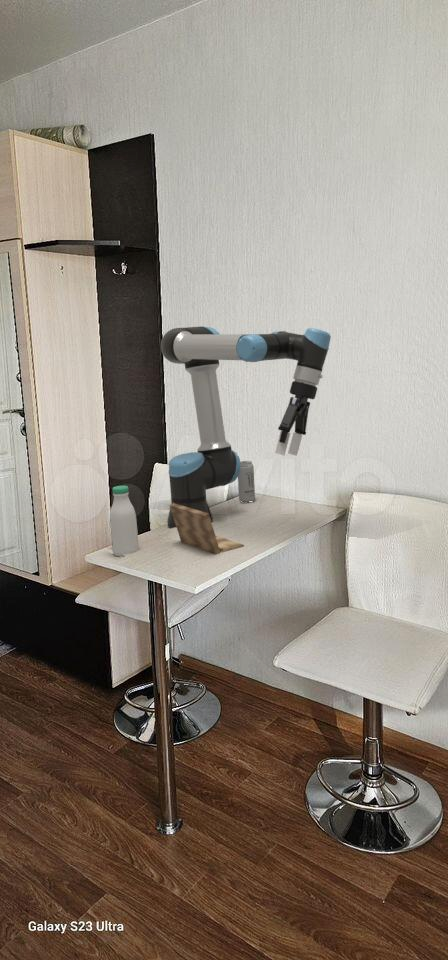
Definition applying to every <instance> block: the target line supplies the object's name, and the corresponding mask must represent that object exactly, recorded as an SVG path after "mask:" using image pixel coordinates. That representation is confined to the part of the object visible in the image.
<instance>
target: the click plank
mask: <svg viewBox="0 0 448 960" xmlns="http://www.w3.org/2000/svg"><path fill="white" fill-rule="evenodd" d="M170 508H171V511H172V515H173V518H174V521H175V524H176V527H177V528H176V527H175V528H176V529H177V533H178V536H179V539H180V542H182V543H184V544H186V545H187V544H188V545H190V546H192V547H195V548H197V549H201V550H204V551H206V552H210V553H212V554H214V555H219V554H221V552H220V549H219V546H218V543H217V539H216V536H217V535H216V533H215V530H214V526H213V522H212V523H211V520H210V516H209V513H206V512H202V511H199V510H195V509H192V508H188V507H185V506H181V505H178V504H174V503H173V504H171V503H170V504H169V509H170ZM215 535H216V536H215Z"/></svg>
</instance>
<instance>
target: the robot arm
mask: <svg viewBox="0 0 448 960" xmlns="http://www.w3.org/2000/svg"><path fill="white" fill-rule="evenodd" d="M330 342H331V334H330V333H329V332H327V331H325V330H322V329H317V328H313V327H308V328H306V330H305V332H304V334H298V333H294V332H288V331H285V330H282V331H281V330H275V331H272V333H257V334H256V333H255V334H254V333H253V334H252V333H251V334H250V333H249V334H245V333H244V334H243V333H242V334H241V333H240V334H235V333H234V334H228V333H227V334H224V333H222V334H220V333H219V332H218V331H217V329H215V328H213V327H210V326H203V325H202V326H191V327H190V326H189V327H176V328H175V327H174V328H172V329H170V330H168V331H167V332H166V333H165V334H164V335H163V336H162V339H161V341H160V350H161V353H162V356H163V357H164V358H165V359H166V360H167V361H169V362H171V363H172V364H177V365H178V364H179V365H181V364H182V365H184V367H185V368H184V371H186V372H187V373H189V374H190V379H191V384H192V393H193V399H194V405H195V413H196V414H195V415H196V419H197V427H198V431H199V439H200V441H199V442H200V445H199V447H198V448H197V450H196V451H195V452H187V453H181V454H177V455H175V456H174V457H172V458H171V459H170V460H169V461H168V462H169V463H168V476H169V486H170V489H169V490H170V499H171V501H170V502H171V503H170V505H171V504H173V503H174V504H178V505H181V506H185V507H188V508H192V509H195V510H199V511H202V512H206V513H209V516H210V520H211V523H212V524H213V522H214V517H213V514H212V512H211V509H210V506H209V504H208V501H207V490H211V489H214V488H218V487H225V486H227V485H229V484H232V483H234V482H236V480H238V476H239V473H240V470H241V458H240V456H239V455H238V454H237V452H236V451H234V450H232V444H230V442H228V440H226V439H227V438H226V435H225V433H226V432H225V426H224V425H225V424H224V419H223V412H222V405H221V398H220V391H219V385H218V377H217V369H218V368H219V367H220V361H243V362H245V363H246V362H247V363H257V362H262V361H274V360H275V361H276V360H285V359H289V360H292V361H293V360H294V361H297V363H296V367H295V370H294V374H293V379H294V380H293V381H292V382H291V386H290V389H289V393H290V394H291V395H293V396H291V397H290V399H289V402H288V404H287V405H288V406H287V407H286V409H285V412H284V415H283V416H282V419H281V422H280V424H279V426H278V428H277V429H278V430H279V431H280V432H279V436H278V437H279V438H278V441H277V444H276V447H275V452H274V453H275V454H277V455H281V456H286V455H285V454H286V452H287V448H288V452H287V454H289V455H291V456H298V452H299V450H300V446H301V443H302V439H303V436H306V434H307V432H306V431H307V425H308V416H309V409H310V405H311V402H310V401H308V399H310V400H315V398H316V396H317V392H318V387H317V386H319V384H320V380H321V379H323V375H322V372H323V368H324V364H325V361H326V358H327V356H328V351H329V349H330V348H329V347H330V344H331V343H330ZM293 427H294V432H293V433H292V437H291V440H290V436H291V430H292V428H293ZM289 440H290V443H289ZM288 445H289V447H288ZM167 528H169V529H174V528H176V529H177V527H176V524H175V521H174V518H173V515H172V511H171V508H170V507H169V512H168V516H167Z"/></svg>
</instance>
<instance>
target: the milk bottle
mask: <svg viewBox="0 0 448 960" xmlns="http://www.w3.org/2000/svg"><path fill="white" fill-rule="evenodd" d="M111 491H112V495H113V501H112V505H111V507H110V511H109V525H110V536H111V537H110V538H111V539H110V540H111V548H112V555H114V556H116V557H125V555H126V554H132V553H136V552H138V551H139V549H140V546H139V544H140V543H139V533H138V525H137V523H138V522H137V513H136V510H135V507H134V506H133V504H132V502H131V500H130V498H129V493H130V492H129V487H128V486H127V485H116V486H114V487H112V490H111Z"/></svg>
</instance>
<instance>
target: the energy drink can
mask: <svg viewBox="0 0 448 960" xmlns="http://www.w3.org/2000/svg"><path fill="white" fill-rule="evenodd" d="M240 462H241V470H240V473H239V476H238V477H237V484H238V485H237V487H238V500H239V501H240V502H241V501H242V502H249V501H253V500H254V501H255V500H256V492H255V491H256V489H255V486H256V485H255V468H254V467H255V466H254V464H253V462H252V460H243V461H241V460H240Z"/></svg>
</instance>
